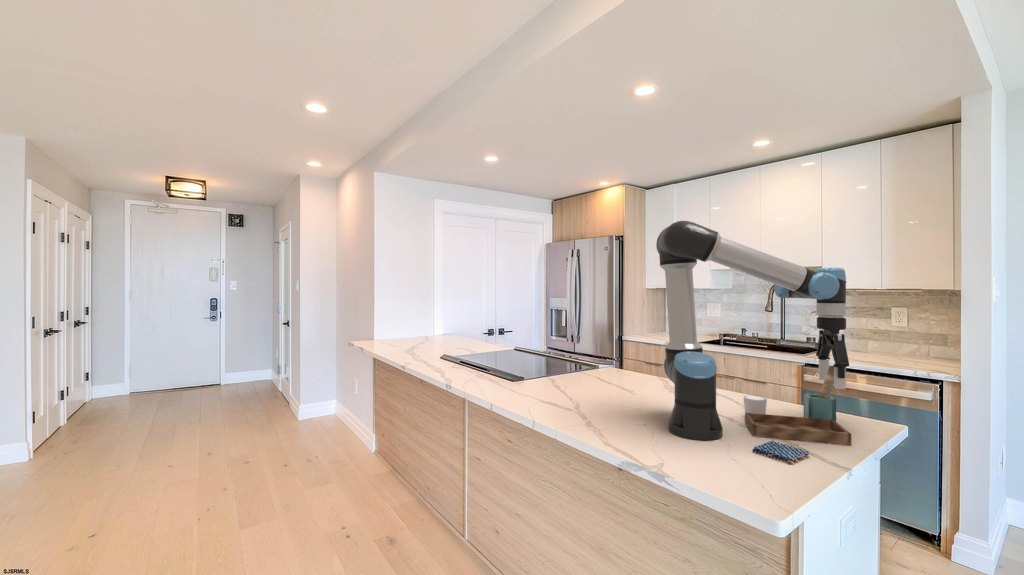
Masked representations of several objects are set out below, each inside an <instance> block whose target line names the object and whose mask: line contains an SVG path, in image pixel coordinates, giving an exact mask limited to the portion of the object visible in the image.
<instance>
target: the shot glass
mask: <svg viewBox="0 0 1024 575" xmlns="http://www.w3.org/2000/svg"><path fill="white" fill-rule="evenodd" d="M767 401H768V399H767V398H766V397H763V396H760V395H759V396H758V395H744V396H743V405H744V414H745V413H756V414H766V411H767Z"/></svg>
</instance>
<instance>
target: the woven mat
mask: <svg viewBox="0 0 1024 575" xmlns="http://www.w3.org/2000/svg"><path fill="white" fill-rule="evenodd" d="M751 452H752V453H753V454H756V455H761V456H763V457H767V458H769V459H773V460H776V461H779V462H782V463H786V464H788V465H794V464H797V463H799V462H803V461H804V460H805V459H809V458H810V457H811V456H810V454H811V453H810V451H808V450H806V449H802V448H799V447H793V446H792V445H789V444H786V443H784V444H783V443H781V442H776V441H774V440H773V439H772V441H770V440H769V441H768V442H767V441H766V442H764V443H762V444H759V445H757V446H754V448H752V450H751Z"/></svg>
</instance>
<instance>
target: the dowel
mask: <svg viewBox="0 0 1024 575" xmlns="http://www.w3.org/2000/svg"><path fill="white" fill-rule="evenodd" d="M833 388H834V367H833V365H829V369H828V372H827V375H826V378H825V380H823V383H822V386H821V389H820V391H819V394H818V395H819V397H818V398H829V397H830V396H831V394H832V391H833Z"/></svg>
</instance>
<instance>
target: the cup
mask: <svg viewBox="0 0 1024 575" xmlns="http://www.w3.org/2000/svg"><path fill="white" fill-rule="evenodd" d="M818 397H819V394H817V393H816V394H815V393H814V394H813V393H803V417H805V418H818V419H830V420H834V421H835V422H837V399H836V398H835V397H833V396H831V395H830V397H829V398H818Z"/></svg>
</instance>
